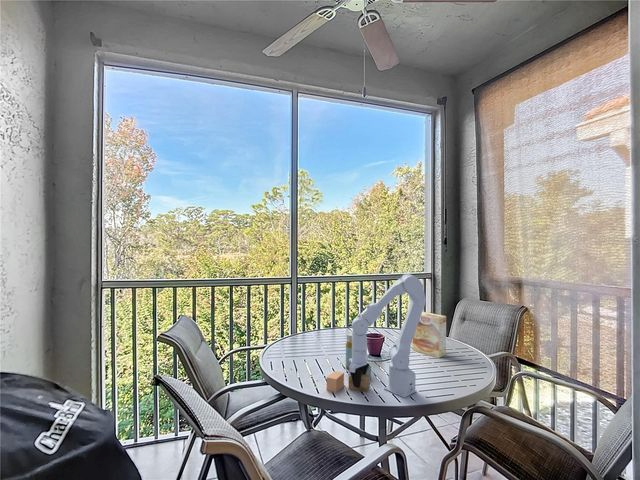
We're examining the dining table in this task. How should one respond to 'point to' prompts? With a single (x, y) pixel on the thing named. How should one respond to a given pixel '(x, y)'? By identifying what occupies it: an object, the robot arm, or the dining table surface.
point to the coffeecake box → (430, 335)
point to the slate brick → (369, 371)
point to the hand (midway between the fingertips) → (358, 384)
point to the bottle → (348, 349)
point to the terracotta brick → (335, 381)
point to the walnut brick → (363, 385)
